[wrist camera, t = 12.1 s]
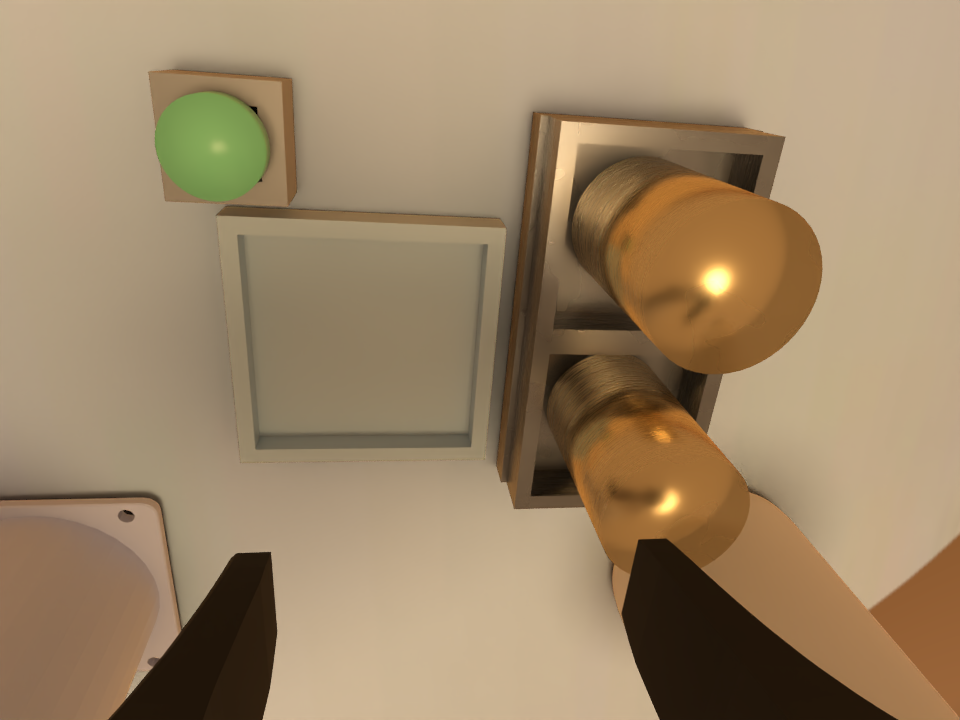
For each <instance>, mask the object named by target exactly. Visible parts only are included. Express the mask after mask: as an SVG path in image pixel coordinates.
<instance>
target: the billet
mask: <svg viewBox="0 0 960 720" xmlns="http://www.w3.org/2000/svg"><path fill="white" fill-rule="evenodd" d="M572 241H573V246H574V250H575V253H576V255H577V258H578V260H579V262H580V263H581V265H582V266H583V268H584V269H585V270H586V271H587V272H588V274H589V275H590V276H591V277H592V278H593V279H594V280H595V281H596V282H597V283H598V284H599V285H600V286H601V288H602V289H603V290H604V291H605V292H606V293H607V294H608V295H609V296H610V297H611V298H612V299H613V300H614V301H615V303H616V304H617V305H618V306H619V307H620V308H621V309H622V310H623V311H624V312H625V313H626V314H627V315H628V317H629V318H630V319H631V320H632V321H633V322H634V323H635V324H636V325H637V326H638V327H639V328H640V329H641V331H642V332H643V333H644V334H645V335H646V336H647V337H648V338H649V339H650V340H651V341H652V342H653V343H654V345H655V346H656V347H657V348H658V349H659V350H660V351H661V352H662V353H663V354H664V355H665V356H666V357H667V358H668V359H669V360H671V361H672V362H674V363H675V364H677V365H678V366H680V367H682V368H685V369H687V370H690V371H693V372H697V373H703V374H725V373H731V372H736V371H740V370H743V369H746V368H749V367H751V366H753V365H755V364H758V363H760V362H761V361H763V360H765V359H767V358H768V357H770V356H771V355H773V354H774V353H775V352H777V351H778V350H780V349H781V348H782V347H783V346H784V345H785V344H786V343H787V342H789V340H790V339H791V338H792V337H793V336H794V335H795V334H796V333H797V332H798V330H799V329H800V328H801V326H802V325H803V324H804V322H805V320H806V319H807V317H808V315H809V314H810V312H811V310H812V308H813V306H814V303H815V301H816V298H817V295H818V292H819V288H820V284H821V278H822V256H821V251H820V246H819V243H818V240H817V238H816V235H815V234H814V232H813V230H812V228H811V227H810V225H809V224H808V223H807V222H806V220H805V219H804V218H803V217H801V216H800V215H799V214H798V213H797V212H795V211H794V210H792V209H791V208H789V207H787V206H785V205H783V204H780V203H778V202H775V201H773V200H770V199H767V198H765V197H762V196H759V195H757V194H754V193H751V192H749V191H746V190H744V189H741V188H738V187H736V186H733V185H730V184H728V183H725V182H722V181H720V180H717V179H715V178H712V177H709V176H707V175H704V174H701V173H699V172H696V171H693V170H691V169H688V168H686V167H683V166H680V165H678V164H675V163H672V162H670V161H667V160H664V159H661V158H657V157H649V156H641V157H633V158H628V159H625V160H622V161H620V162H618V163H615V164H613V165H611V166H610V167H608V168H607V169H605V170H604V171H603V172H601V173H600V174H599V175H598V176H597V177H596V178H595V179H594V180H593V181H592V182H591V183H590V184H589V185H588V187H587V188H586V189H585V191H584V192H583V194H582V196H581V198H580V200H579V202H578V204H577V207H576V209H575V213H574V216H573V223H572Z"/></svg>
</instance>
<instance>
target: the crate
mask: <svg viewBox="0 0 960 720" xmlns="http://www.w3.org/2000/svg"><path fill="white" fill-rule="evenodd" d="M784 141H785V137H783V136H779V135H774V134H769V133H764V132H763V131H759V130H754V129H749V128H742V127H728V126H714V125H700V124H687V123H673V122H659V121H646V120H632V119H618V118H604V117H591V116H577V115H563V114H549V113H536V112H533V121H532V130H531V140H530V149H529V159H528V168H527V178H526V188H525V197H524V207H523V216H522V226H521V235H520V245H519V255H518V264H517V274H516V283H515V293H514V303H513V312H512V322H511V331H510V341H509V350H508V360H507V370H506V379H505V389H504V398H503V408H502V417H501V427H500V437H499V446H498V456H497V465H496V466H497V470H498V473H499V477H500V481H501V482H507V486H508V489H509V493H510V496H511V499H512V503H513V506H514V509H532V508H570V507H585V506H584V503H583V501H582V499H581V497H580V494H579V492H578V490H577V488H576V486H575V483H574V481H573V479H572V477H571V474H570V472H569V470H568V468H567V465H566V463H565V461H564V459H563V456H562V454H561V452H560V450H559V447H558V445H557V443H556V441H555V438H554V436H553V434H552V432H551V429H550V427H549V424H548V420H547V404H548V399H549V396H550V393H551V391H552V389H553V387H554V385H555V384H556V382H557V381H558V379H559V378H560V377H561V376H562V375H563V374H564V373H565V372H566V371H567V370H568V369H569V368H570V367H572V366H573V365H575V364H576V363H578V362H580V361H581V360H583V359H586V358H588V357H590V356H594V355H631V356H634V357H636V358H638V359H640V360H641V361H643V362H644V363H645V364H647V365H648V366H649V367H650V368H651V370H652V371H653V372H654V373H655V374H656V375H657V377H658V378H659V379H660V380H661V381H662V382H663V384H664V385H665V386H666V387H667V388H668V390H669V391H670V392H671V393H672V394H673V395H674V397H675V398H676V399H677V400H678V401H679V402H680V404H681V405H682V406H683V407H684V408H685V409H686V411H687V412H688V413H689V414H690V415H691V417H692V418H693V419H694V420H695V421H696V422H697V424H698V425H699V426H700V427H701V428H702V429H703V431H704V432H705V433H706V434H707V432H708V428H709V424H710V421H711V417H712V413H713V409H714V405H715V402H716V398H717V394H718V390H719V387H720V383H721V379H722V375H723V374H703V373H697V372H693V371H690V370H687V369H685V368H682V367H680V366H678V365H677V364H675V363H674V362H672V361H671V360H669V359H668V358H667V357H666V356H665V355H664V354H663V353H662V352H661V351H660V350H659V349H658V348H657V347H656V346H655V345H654V343H653V342H652V341H651V340H650V339H649V338H648V337H647V336H646V335H645V334H644V333H643V332H642V331H641V329H640V328H639V327H638V326H637V325H636V324H635V323H634V322H633V321H632V320H631V319H630V318H629V317H628V315H627V314H626V313H625V312H624V311H623V310H622V309H621V308H620V307H619V306H618V305H617V304H616V303H615V301H614V300H613V299H612V298H611V297H610V296H609V295H608V294H607V293H606V292H605V291H604V290H603V289H602V288H601V286H600V285H599V284H598V283H597V282H596V281H595V280H594V279H593V278H592V277H591V276H590V275H589V274H588V272H587V271H586V270H585V269H584V268H583V266H582V265H581V263H580V262H579V260H578V258H577V255H576V253H575V250H574V246H573V241H572V223H573V216H574V213H575V209H576V207H577V204H578V202H579V200H580V198H581V196H582V194H583V192H584V191H585V189H586V188H587V187H588V185H589V184H590V183H591V182H592V181H593V180H594V179H595V178H596V177H597V176H598V175H599V174H600V173H601V172H603V171H604V170H605V169H607V168H608V167H610V166H611V165H613V164H615V163H618V162H620V161H622V160H625V159H628V158H633V157H641V156H649V157H657V158H661V159H664V160H667V161H670V162H672V163H675V164H678V165H680V166H683V167H686V168H688V169H691V170H693V171H696V172H699V173H701V174H704V175H707V176H709V177H712V178H715V179H717V180H720V181H722V182H725V183H728V184H730V185H733V186H736V187H738V188H741V189H744V190H746V191H749V192H751V193H754V194H757V195H759V196H762V197H765V198H767V199H769V197H770V194H771V190H772V186H773V182H774V178H775V175H776V171H777V167H778V163H779V160H780V156H781V152H782V148H783V144H784Z"/></svg>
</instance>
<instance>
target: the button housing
mask: <svg viewBox="0 0 960 720" xmlns="http://www.w3.org/2000/svg"><path fill="white" fill-rule="evenodd" d="M148 73H149V80H150V88H151V96H152V103H153V111H154V119H155V126H157V123H158V120H159V118H160V116H161V114H162V113H163V111H164V110H165V109H166V108H167V107H168V106H169V105H170V104H171V103H172V102H174V101H175V100H177V99H178V98H180V97H183V96H185V95H189V94H193V93H198V92H204V91H216V92H222V93H226V94H229V95H231V96H234V97H236V98H237V99H239V100H241V101H242V102H244V103H245V104H247V105H248V106H256V107H257V110H258V117H259V118H260V120H261V121H262V123H263V125H264V127H265V129H266V132H267V134H268V138H269V143H270V158H269V163H268V167H267V169H266V171H265V173H264V175H263V176H262V178H261V179H260V180H259V181H258V183H257V184H256V185H255V186H254V187H253V188H252V189H251V190H249V191H248V192H247V193H246V194H244V195H242V196H240V197H238V198H236V199H233V200H229V201H220V202H215V201H207V200H203V199H200V198H197V197H195V196H193V195H190V194H188V193H187V192H185V191H184V190H182V189H181V188H180V187H178V186H177V185H176V184H175V183H174V182H173V181H172V180H171V179H170V178H169V176H168V175H167V174H166V172H165V171H164V169H163V167H162V165H161V163H160V165H161V172H162V180H163V188H164V195H165V201H172V202H194V203H215V204H237V205H259V206H280V207H288V206H289V204H290V202H291V201H292V199H293V198H294V196H295V194H296V193H297V181H296V159H295V136H294V113H293V90H292V79H289V78H275V77H262V76H249V75H236V74H223V73H210V72H197V71H184V70H163V71H150V72H148Z"/></svg>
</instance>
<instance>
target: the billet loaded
mask: <svg viewBox="0 0 960 720" xmlns="http://www.w3.org/2000/svg"><path fill="white" fill-rule="evenodd" d="M547 420H548V424H549V427H550V429H551V432H552V434H553V436H554V438H555V441H556V443H557V445H558V447H559V450H560V452H561V454H562V456H563V459H564V461H565V463H566V465H567V468H568V470H569V472H570V474H571V477H572V479H573V481H574V483H575V486H576V488H577V490H578V492H579V494H580V497H581V499H582V501H583V503H584V506H585V508H586V510H587V512H588V515H589V517H590V519H591V521H592V524H593V526H594V528H595V530H596V533H597V535H598V537H599V539H600V541H601V544H602V546H603V548H604V550H605V553H606V554H607V556H608V557H609V559H610V560H611V561H612V562H613V563H614V564H615V565H616V566H617V567H618V568H620V569H621V570H623V571H625V572H627V573H629V574H631V569H632V565H633V561H634V556H635V552H636V548H637V543H638V539H663V538H667V539H668V540H669V541H670V542H672V543H673V544H674V545H675V546H676V547H677V548H678V549H680V550H681V551H682V552H683V553H684V554H685V555H686V556H687V557H688V558H690V559H691V560H692V561H693V562H694V563H695V564H696V565H697V566H698V567H699V568H702V567H704V566H706V565H708V564H709V563H711V562H712V561H714V560H715V559H717V558H718V557H719V556H721V555H722V554H723V553H724V552H725V551H726V550H727V549H728V548H729V547H730V546H731V545H732V544H733V543H734V542H735V540H736V539H737V537H738V536H739V535H740V533H741V531H742V529H743V527H744V525H745V523H746V520H747V518H748V514H749V508H750V494H749V490H748V487H747V484H746V482H745V480H744V479H743V477H742V476H741V474H740V473H739V472H738V471H737V469H736V468H735V467H734V466H733V465H732V464H731V462H730V461H729V460H728V459H727V458H726V457H725V455H724V454H723V453H722V452H721V451H720V449H719V448H718V447H717V446H716V445H715V444H714V442H713V441H712V440H711V439H710V438H709V437H708V435H707V434H706V433H705V432H704V431H703V429H702V428H701V427H700V426H699V425H698V424H697V422H696V421H695V420H694V419H693V418H692V417H691V415H690V414H689V413H688V412H687V411H686V409H685V408H684V407H683V406H682V405H681V404H680V402H679V401H678V400H677V399H676V398H675V397H674V395H673V394H672V393H671V392H670V391H669V390H668V388H667V387H666V386H665V385H664V384H663V382H662V381H661V380H660V379H659V378H658V377H657V375H656V374H655V373H654V372H653V371H652V370H651V368H650V367H649V366H648V365H647V364H645V363H644V362H643V361H641V360H640V359H638V358H636V357H634V356H631V355H594V356H590V357H588V358H586V359H583V360H581V361H580V362H578V363H576V364H575V365H573V366H572V367H570V368H569V369H568V370H567V371H566V372H565V373H564V374H563V375H562V376H561V377H560V378H559V379H558V381H557V382H556V384H555V385H554V387H553V389H552V391H551V393H550V396H549V399H548V404H547Z"/></svg>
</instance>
